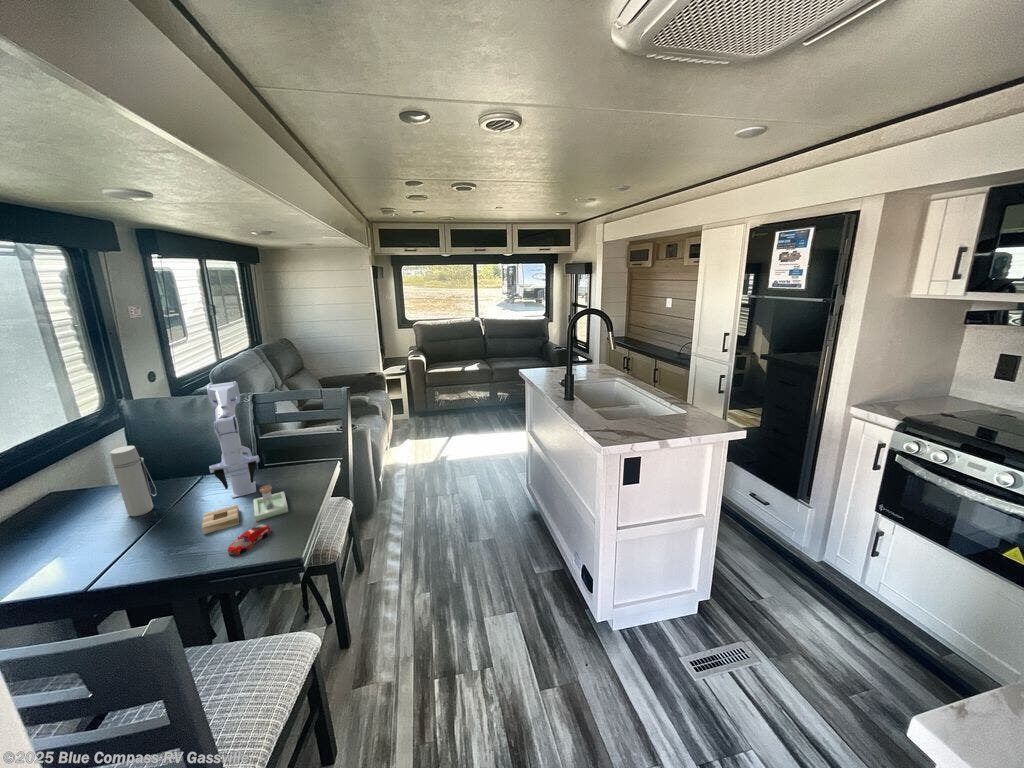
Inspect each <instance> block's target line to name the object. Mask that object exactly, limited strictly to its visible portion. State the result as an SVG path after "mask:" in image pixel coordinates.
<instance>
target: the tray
mask: <svg viewBox="0 0 1024 768" xmlns="http://www.w3.org/2000/svg"><path fill="white" fill-rule="evenodd" d="M271 494H272V493H271ZM286 498H287V497H286V494H285V491H284V490H283V491H280V492H276V493H273V494H272V499H273V504H274V507H273V508H271V509H265V506H264V501H263V496H262V497H257V498H254V499H253V500H252V501H253V511H254V518H255V522H259V521H261V520H263V521H264V520H266V519H269V518H272V517H277V516H279V515H283V514H286V513H289V508H288V503H287V499H286Z"/></svg>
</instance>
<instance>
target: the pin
mask: <svg viewBox="0 0 1024 768" xmlns="http://www.w3.org/2000/svg"><path fill="white" fill-rule="evenodd" d="M272 490H273V488H272V485H271V484H266V485H263V486H261V487H259V492H260V493H261V495H262V497H263V501H264V506H265V509H271V508H273V507H274V504H273V499H272Z"/></svg>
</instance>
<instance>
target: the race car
mask: <svg viewBox="0 0 1024 768" xmlns="http://www.w3.org/2000/svg"><path fill="white" fill-rule="evenodd" d="M271 532H272V529H271V527H270V526H269V525H267V524H258V525H256V526H253V527H251V528H248V530H246V531H244V532H242V534H241V535H240V536H237V538H236V540H234V541H233V542H232V543H231V544H230V545H229V546H228V547H227V552H228V555H229V556H238V555H243V554H244V553H246V552H247V551H248V550H249V549H250V548H252V547H254V546H255V545H256V544H258V543H260V542H261V541H262V540H265V539H266V538H267V537H268V536H270V534H271Z"/></svg>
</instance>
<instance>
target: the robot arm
mask: <svg viewBox="0 0 1024 768" xmlns="http://www.w3.org/2000/svg"><path fill="white" fill-rule="evenodd" d="M206 391H207V397H208V399H209V401H210V404H211V405H212V407H213V408H215V410H214V414H215V416H214V417H215V420H214V421H213V427H214V432H215V434H216V436H217V439H218V442H219V444H220V445H219V446H220V449H221V453H222V454H221V455H220V456H221V462H219V463H216V464H212V465H209V466H208V467H209V473H210V474H213V473H214V476H215V478H217V479H218V480H219V481H220V482H221V484H222V485H223V487H224V488H225V490H228V489H229V485H228V484H229V483H228V481H227V479H226V475H228V477H229V481H230V486H231V499H235V498H238V497H243V496H246V495H250V494H254V493H256V492H257V486H256V485H257V484H256V481H254V476H255V471H256V467H257V463H260V457H259V455H258V454H257V455H253V454H252V451H251V449H250V448H249V447H247V446H244V445H242V442H241V436H240V432H239V430H240V429H239V422H238V418H237V416H236V406H237V405H238V404H240V403H241V395H240V394H241V393H240V389H239V384H238V382H237V381H236V380H234V381H230V382H223V383H214V384H207V386H206Z"/></svg>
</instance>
